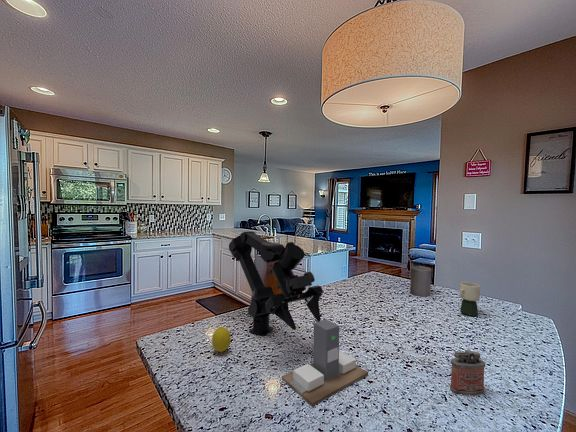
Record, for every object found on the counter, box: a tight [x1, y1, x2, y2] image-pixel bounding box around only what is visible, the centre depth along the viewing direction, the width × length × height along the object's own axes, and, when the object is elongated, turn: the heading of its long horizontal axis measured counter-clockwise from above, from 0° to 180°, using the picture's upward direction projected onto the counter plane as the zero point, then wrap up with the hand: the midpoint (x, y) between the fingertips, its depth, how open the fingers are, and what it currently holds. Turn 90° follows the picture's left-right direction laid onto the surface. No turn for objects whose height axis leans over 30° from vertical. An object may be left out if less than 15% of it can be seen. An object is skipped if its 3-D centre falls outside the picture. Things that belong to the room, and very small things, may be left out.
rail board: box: [281, 362, 369, 407], centre depth 73 cm, size 12×20×1 cm, turn 126°
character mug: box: [458, 281, 481, 317], centre depth 117 cm, size 11×7×13 cm, turn 107°
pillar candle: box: [409, 265, 432, 298], centre depth 144 cm, size 10×10×15 cm
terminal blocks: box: [292, 349, 357, 392], centre depth 73 cm, size 6×17×2 cm, turn 126°
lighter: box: [449, 349, 486, 396], centre depth 68 cm, size 8×3×10 cm, turn 92°
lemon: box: [211, 326, 232, 353], centre depth 85 cm, size 6×6×8 cm
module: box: [312, 319, 340, 381], centre depth 73 cm, size 5×4×13 cm
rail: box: [290, 363, 359, 394], centre depth 73 cm, size 5×20×1 cm, turn 126°
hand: (307, 325), depth 79 cm, fingers open, 9 cm apart
